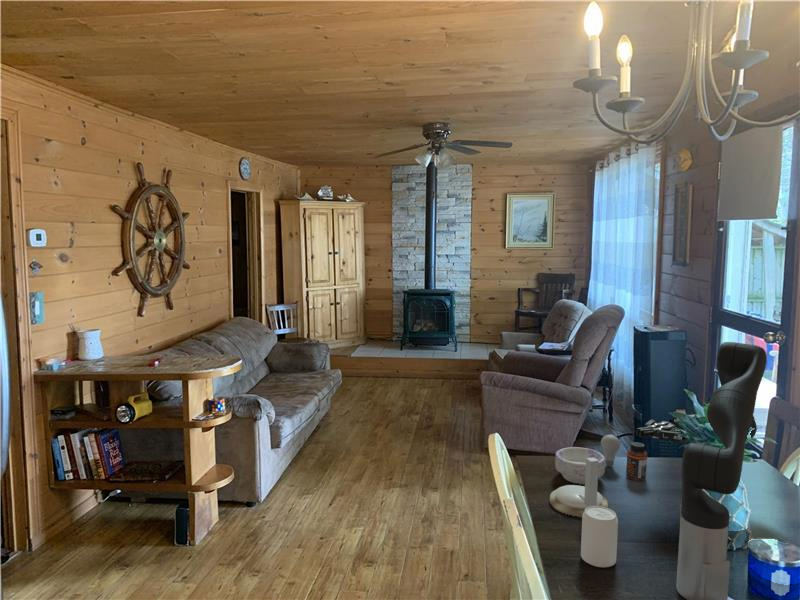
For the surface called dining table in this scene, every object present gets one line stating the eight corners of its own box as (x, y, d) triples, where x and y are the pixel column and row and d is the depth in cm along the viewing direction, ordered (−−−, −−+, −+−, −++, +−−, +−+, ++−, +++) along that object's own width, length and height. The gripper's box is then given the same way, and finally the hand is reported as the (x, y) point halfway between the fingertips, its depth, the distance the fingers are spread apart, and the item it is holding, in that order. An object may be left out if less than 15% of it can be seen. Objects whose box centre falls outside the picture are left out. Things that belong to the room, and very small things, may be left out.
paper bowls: (546, 471, 192) (546, 448, 191) (586, 466, 196) (587, 444, 195) (571, 491, 177) (572, 466, 176) (614, 485, 181) (615, 461, 180)
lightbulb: (620, 471, 192) (621, 439, 191) (601, 469, 194) (602, 437, 192) (617, 463, 198) (618, 432, 197) (598, 462, 199) (600, 431, 198)
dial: (613, 507, 163) (615, 458, 161) (571, 512, 160) (573, 463, 158) (586, 486, 176) (588, 441, 175) (547, 491, 173) (548, 445, 171)
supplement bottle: (621, 476, 188) (623, 442, 187) (635, 472, 191) (637, 439, 190) (636, 483, 183) (638, 448, 182) (650, 479, 186) (652, 445, 184)
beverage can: (588, 547, 146) (590, 501, 144) (620, 558, 141) (623, 511, 139) (575, 561, 139) (577, 513, 138) (608, 573, 134) (611, 524, 133)
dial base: (619, 514, 163) (619, 508, 163) (568, 520, 159) (568, 515, 159) (587, 489, 178) (587, 484, 178) (540, 495, 174) (540, 490, 174)
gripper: (674, 408, 175) (624, 413, 171) (708, 423, 162) (655, 427, 158) (673, 432, 176) (623, 437, 172) (706, 448, 163) (653, 454, 159)
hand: (638, 433), depth 165 cm, fingers closed
